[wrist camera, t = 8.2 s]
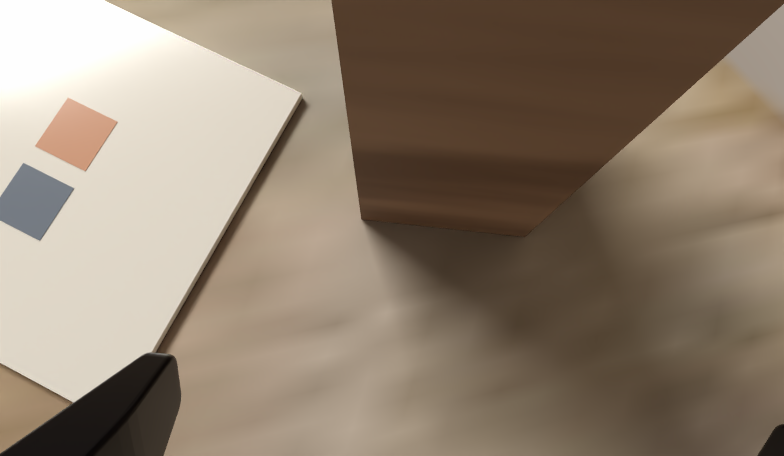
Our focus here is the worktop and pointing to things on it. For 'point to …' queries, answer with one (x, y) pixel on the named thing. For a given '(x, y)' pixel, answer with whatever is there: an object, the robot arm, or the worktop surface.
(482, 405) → the worktop surface
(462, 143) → the walnut block
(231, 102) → the tile
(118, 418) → the robot arm
